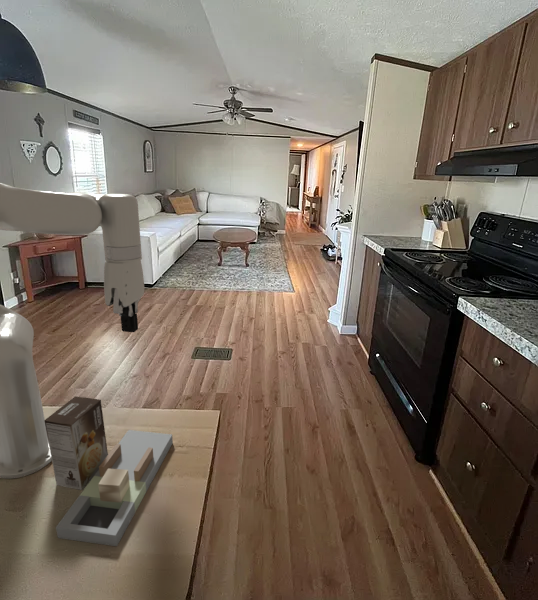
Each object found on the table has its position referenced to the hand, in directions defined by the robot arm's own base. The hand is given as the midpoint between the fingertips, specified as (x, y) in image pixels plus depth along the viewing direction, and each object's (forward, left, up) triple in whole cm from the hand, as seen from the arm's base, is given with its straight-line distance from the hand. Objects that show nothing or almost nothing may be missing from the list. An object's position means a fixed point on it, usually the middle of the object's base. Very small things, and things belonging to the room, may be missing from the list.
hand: (130, 330), depth 87 cm
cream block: (+6, -22, -25) cm, 34 cm away
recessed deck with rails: (+5, -17, -27) cm, 33 cm away
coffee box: (-5, -16, -27) cm, 32 cm away
